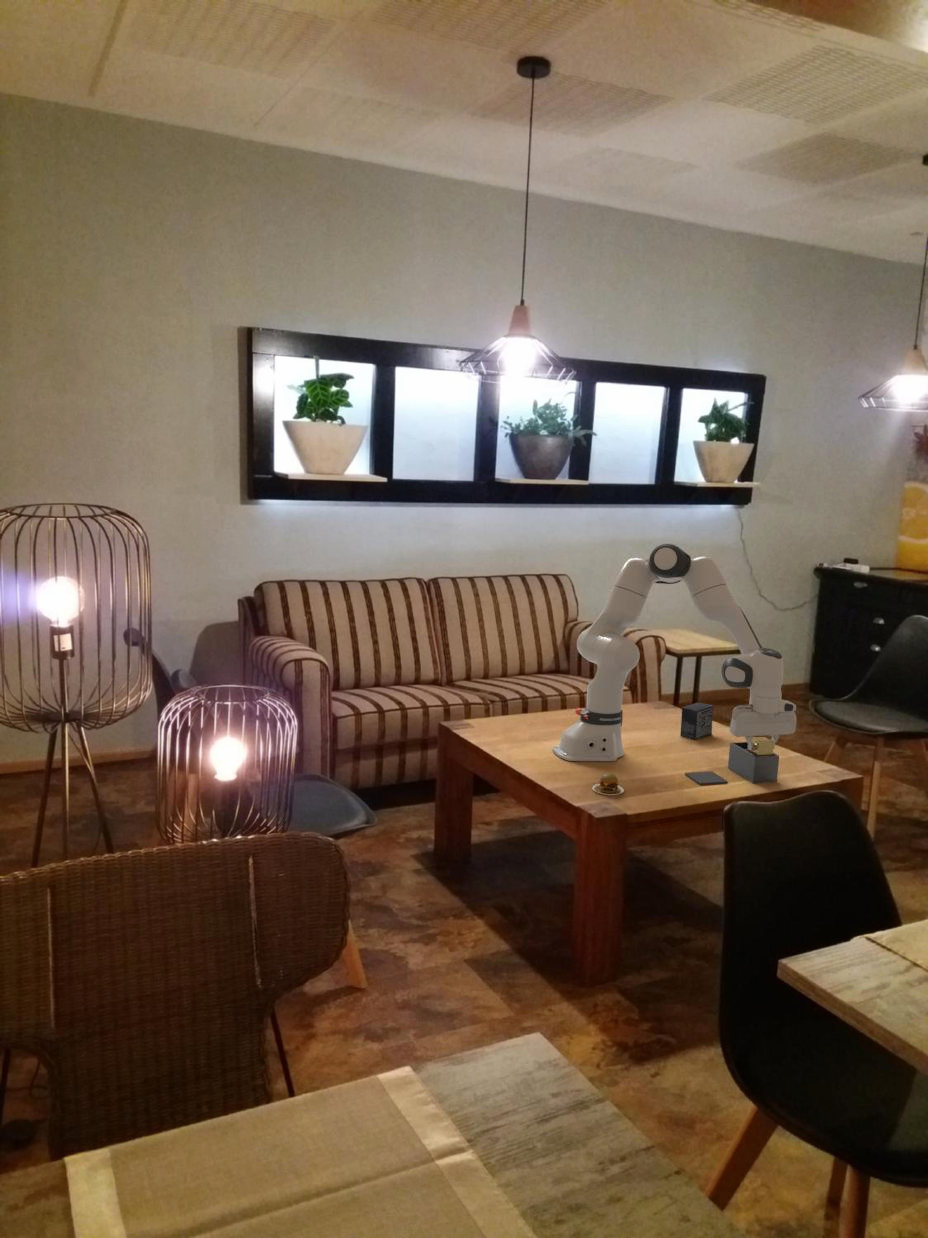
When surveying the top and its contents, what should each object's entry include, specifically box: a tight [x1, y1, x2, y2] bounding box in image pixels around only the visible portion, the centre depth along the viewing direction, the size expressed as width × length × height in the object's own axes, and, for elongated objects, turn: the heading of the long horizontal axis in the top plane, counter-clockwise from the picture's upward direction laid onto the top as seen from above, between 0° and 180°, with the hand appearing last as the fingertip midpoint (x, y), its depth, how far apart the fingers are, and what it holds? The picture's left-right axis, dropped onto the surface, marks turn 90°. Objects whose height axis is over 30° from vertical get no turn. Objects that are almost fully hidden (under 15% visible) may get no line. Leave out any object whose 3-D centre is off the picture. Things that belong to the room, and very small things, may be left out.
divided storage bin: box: [727, 741, 780, 784], centre depth 285 cm, size 8×14×8 cm, turn 15°
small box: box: [680, 702, 714, 741], centre depth 324 cm, size 11×6×10 cm, turn 134°
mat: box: [684, 770, 728, 786], centre depth 281 cm, size 9×9×1 cm
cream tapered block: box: [749, 736, 775, 757], centre depth 281 cm, size 5×5×8 cm
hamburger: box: [592, 773, 625, 796], centre depth 268 cm, size 12×12×6 cm
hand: (760, 749), depth 281 cm, fingers closed on cream tapered block, 5 cm apart
